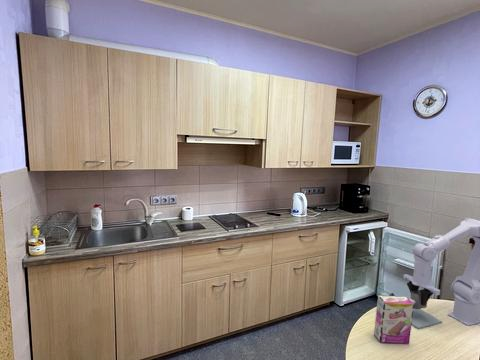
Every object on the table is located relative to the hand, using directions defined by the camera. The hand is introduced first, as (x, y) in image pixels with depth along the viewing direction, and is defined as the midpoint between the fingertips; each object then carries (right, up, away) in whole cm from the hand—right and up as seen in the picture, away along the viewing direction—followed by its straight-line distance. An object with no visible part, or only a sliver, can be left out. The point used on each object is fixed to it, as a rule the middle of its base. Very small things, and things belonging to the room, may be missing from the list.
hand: (418, 302), depth 109 cm
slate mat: (0, -7, +1) cm, 7 cm away
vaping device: (-14, -7, -1) cm, 16 cm away
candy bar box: (-20, -8, -13) cm, 25 cm away
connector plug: (-1, -2, 0) cm, 2 cm away
